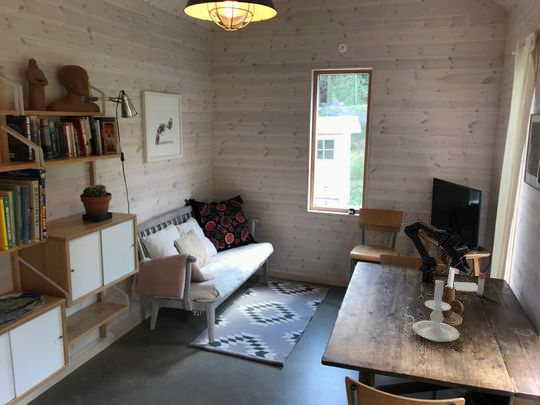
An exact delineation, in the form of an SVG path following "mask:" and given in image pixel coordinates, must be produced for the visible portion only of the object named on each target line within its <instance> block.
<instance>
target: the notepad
mask: <svg viewBox="0 0 540 405" xmlns="http://www.w3.org/2000/svg"><path fill="white" fill-rule="evenodd" d="M453 282H454V287H455V289H456V291H455V292H463V293H477V288H478V283H476V282H463V281H462V282H461V281H453ZM484 292H485V291H483V294H484Z"/></svg>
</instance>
